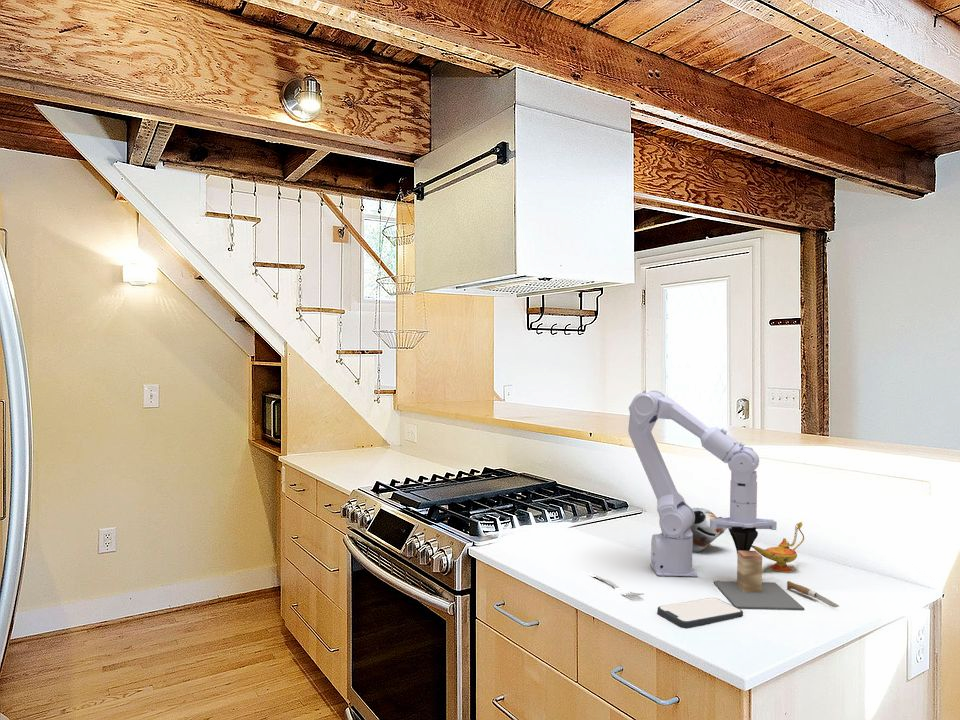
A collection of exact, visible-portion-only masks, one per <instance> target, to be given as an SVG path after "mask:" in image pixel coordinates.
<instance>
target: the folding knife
mask: <svg viewBox="0 0 960 720" xmlns="http://www.w3.org/2000/svg"><path fill="white" fill-rule="evenodd" d="M786 588H787V590H794V591H796V592H798V593H801V594H804V595H806V596H809V597H812V598H814V599H816V600H818V601H820V602H822V603H823V604H825V605H828V606H829V607H832V608H839V607H840V605H839V604H837V603H836V602H834V601H832V600H830V599H828V598H827V597H826V596H823V595H821V594H819V593H818V592H816V590H812V589H810V588H808V587H805V586H803V585H800V584H798V583H795V582H792V581H790V580H788V581H786Z"/></svg>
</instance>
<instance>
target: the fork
mask: <svg viewBox="0 0 960 720" xmlns="http://www.w3.org/2000/svg"><path fill="white" fill-rule="evenodd" d="M596 578H598V580H600V581H603V582H607V583H609V584H610V585H611V586H612V587H613V589H614V588H619V586H618V585H617V584H615V583H614V582H612V581H611V580H608V579H605V578H603V577H601V576H599V577H598V575H596ZM596 578H595V579H596ZM629 592H630V593H629ZM629 592H628V594H627V593H625V594H626V595H624V594H622V593H621V594H622V595H621V596H623V595H624V597H636V596H637V597H638V596H642V595H645V593H641V592H640V593H639V592H637V593H636V592H632V591H629Z"/></svg>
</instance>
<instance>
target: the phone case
mask: <svg viewBox="0 0 960 720" xmlns="http://www.w3.org/2000/svg"><path fill="white" fill-rule="evenodd" d="M658 614H659V616H660V617H661V618H663V619H666V620H667V621H669V622H670V623H673V624H674V625H676V626H677V627H679V628H683V629H691V628H694V627H699V626H700V627H701V626H705V625H710V624H714V623H719V622H725V621H729V620H735V619H738V618H743V617H744V611H743V610H742V609H738V608H736V607H734V606H733V605H732V604H730V603H728V602H725V601H724V600H721V599H720V598H716V597H708V598H702V599H701V598H700V599H696V600H691V601H690V600H689V601H685V602H679V603H672V604H666V605H660V606H657V615H658ZM742 616H743V617H742ZM734 618H735V619H734Z"/></svg>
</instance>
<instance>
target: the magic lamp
mask: <svg viewBox="0 0 960 720" xmlns="http://www.w3.org/2000/svg"><path fill="white" fill-rule="evenodd" d="M802 527H803V522H802V521H800V522H798V523H796V524H795V526H794V535H793V537H794V538H793V541H792V543H791V544H790V542H789V541H788V540H787V538H784V537H783V539H782V541H781V542H780V543H779V544H778V545H777V546H770V547H769V548H766V549H765V548H761V547H760V546H759V547H758V546H756V545H754V544H752V546H751V549H754V551H756V552H758V553H759V554H760V555H761V556H762V557H764V558H765V559H768V560H771V561H774V562H775V564H772V565H770V567H769V568H770V569H771V570H773V571H777V572H781V573H791V572H793V570H794V569H793V568H792V567H790V566H789V565H788V564H787V563H792V562H793V561H795V560H796V559H797V557H798V554H797V551H796V549H798V548H799V546H801V545H802V544H803V542H804V540H805V535H804V533H803V531H802V530H801V528H802ZM798 532H799V533H801V536H802V540H801V541H800V542H799V544H797V545H796V546H795V547H794V548H793V549H792V548H791V547H793V546H794V545H795V544H796V542H797V536H798Z"/></svg>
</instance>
